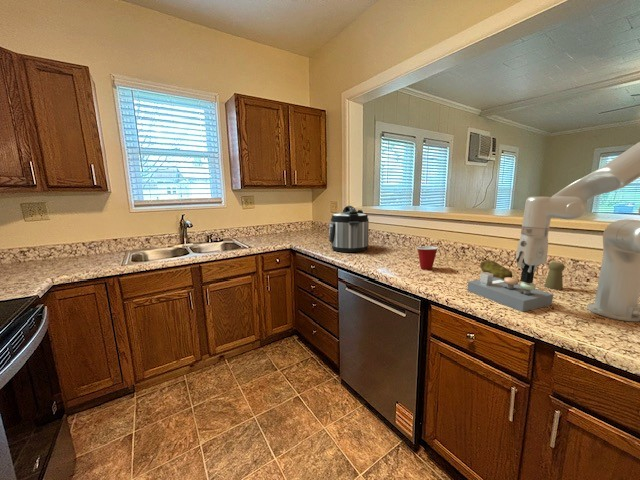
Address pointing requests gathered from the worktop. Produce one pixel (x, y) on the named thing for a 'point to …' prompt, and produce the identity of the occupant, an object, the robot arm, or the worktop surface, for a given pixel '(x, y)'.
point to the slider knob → (486, 278)
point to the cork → (555, 276)
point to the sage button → (527, 287)
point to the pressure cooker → (349, 230)
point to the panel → (510, 295)
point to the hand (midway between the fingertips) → (526, 282)
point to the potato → (495, 269)
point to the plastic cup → (426, 256)
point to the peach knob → (510, 282)
